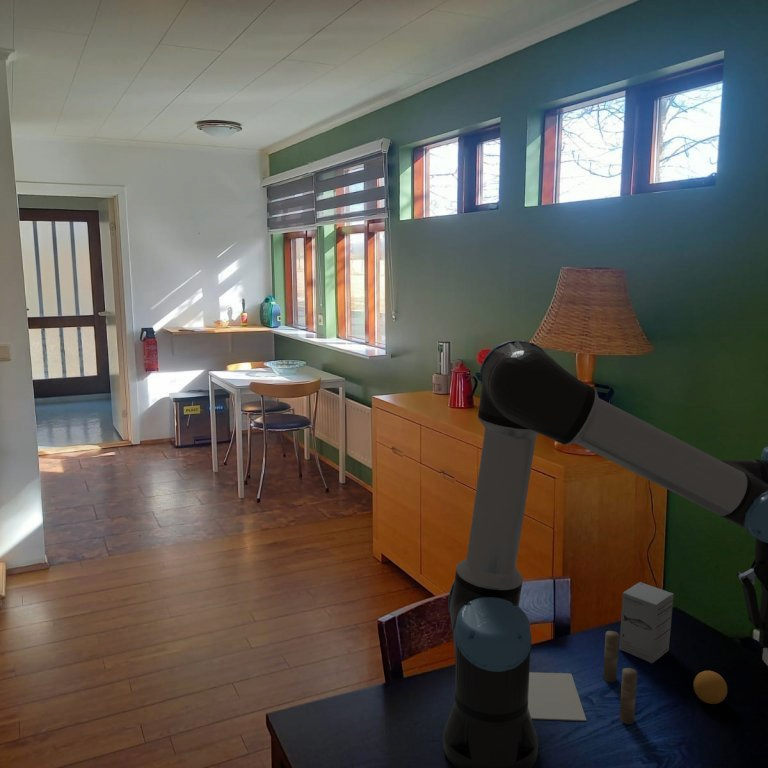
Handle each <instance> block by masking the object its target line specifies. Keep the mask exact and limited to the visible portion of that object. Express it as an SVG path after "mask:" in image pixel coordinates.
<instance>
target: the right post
mask: <svg viewBox="0 0 768 768" xmlns="http://www.w3.org/2000/svg"><path fill="white" fill-rule="evenodd" d="M621 672H622V673H621V688H620V701H619V702H620V705H619V720H620V722H621V723H623V724H626V725H632V724H633V723H634V722H635V716H636V715H635V714H636V713H635V712H636V699H637V698H636V697H637V696H636V695H637V683H638V671H637V670H636V669H634V668H631V667H624V668H622V670H621Z"/></svg>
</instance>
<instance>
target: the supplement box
mask: <svg viewBox="0 0 768 768" xmlns="http://www.w3.org/2000/svg"><path fill="white" fill-rule="evenodd" d="M674 596H675V594H674V593H673V592H671V591H670V592H669V591H667V590H665V589H661V588H659V587H656V586H652V585H649V584H646V583H644V582H642V581H639V582H637V583H636V584H634V585H632V586H631V587H629V588H627V589H626V590H624V592H622V602H621V604H622V605H621V615H620V616H621V617H620V628H619V629H620V632H619V645H618V651H621V652H622V651H623V652H625V653H628V654H630V655H632V656H635V657H636V658H639V659H641V660H644V661H646V662H648V663H649V664H654V663H655V662H657V660H659V659H660V658H661V657H663V656H664V655H665V654H666V653H667V652H669V649H670V638H671V627H672V617H673V616H672V615H673V605H674V604H673V603H674Z"/></svg>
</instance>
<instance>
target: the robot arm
mask: <svg viewBox="0 0 768 768" xmlns="http://www.w3.org/2000/svg"><path fill="white" fill-rule="evenodd" d="M479 378H480V383H481V390H480V398H479V403H478V404H479V406H478V412H477V419H478V420H479V421H480V423H481V424H482V425H483V427H484V435H483V440H482V441H483V442H482V447H481V448H482V449H481V454H480V463H479V471H478V475H477V483H476V491H475V497H474V504H473V510H472V512H473V513H472V518H471V525H470V532H469V540H468V546H467V555H466V558H464V559H463V560H460V562H458V563H457V565H456V568H455V569H456V570H455V575H454V580H453V583H452V585H451V587H450V590H449V592H448V593H449V594H448V598H447V599H448V601H447V604H448V606H447V607H448V613H449V615H450V623H451V630H452V638H453V648H454V662H455V663H454V666H455V669H454V670H455V671H454V673H455V674H454V700H453V705H452V708H451V710H450V713H449V715H448V717H447V720H446V722H445V725H444V728H443V737H442V739H443V740H442V742H443V744H442V745H443V746H442V748H443V751H444V755H445V756H446V757H447V759H448V760H449V762H450V763H451V764H452V765H453V766H454V767H455V768H533V767H534V766H535V764H536V761H537V759H538V750H539V749H538V747H539V740H538V735H537V732H536V728H535V725H534V722H533V719H531V715H530V712H529V709H528V692H529V672H530V666H531V665H530V664H531V663H530V662H531V661H530V660H531V659H530V658H531V648H532V641H533V640H532V639H533V638H532V630H531V624H530V620H529V618H528V616H527V614H526V612H525V611H524V610H523V609H522V608H521V607H520V601H521V593H522V586H523V580H524V579H523V578H524V577H523V575H522V573H521V572H520V571H519V570H518V568H517V562H518V555H519V547H520V542H521V535H522V529H523V523H524V516H525V511H526V504H527V498H528V491H529V484H530V478H531V474H532V473H531V472H532V467H533V461H534V460H533V459H534V455H535V454H534V453H535V447H536V441H537V440H536V439H537V436H538V435H543V436H545V437H547V438H549V439H551V440H553V441H556V442H557V443H559V444H562V445H563V446H569V445H573V444H576V445H578V446H581V447H582V448H584V449H586V450H589V451H590V452H592V453H594V454H596V455H599V456H600V457H602V458H604V459H606V460H607V461H611V462H612V463H614V464H616V465H618V466H621V468H624V469H625V470H628V471H630V472H632V473H634V474H636V475H638V476H640V477H642V478H644V479H645V480H648V481H650V482H652V483H654V484H656V485H658V486H660V487H662V488H664V489H666V490H668V491H670V492H672V493H674V494H676V495H678V496H680V497H682V498H684V499H686V500H688V501H689V502H691V503H693V504H694V505H697V506H700V507H702V508H704V509H706V510H708V511H710V512H712V513H714V514H716V515H717V516H720V517H721V518H723V519H725V520H727V521H728V522H730V523H732V524H734V525H736V526H739V527H740V528H741V529H744V530H745V531H746V532H747V533H748V534H749V535H750V536H752V538H753V537H754V538H755V542H754V543H755V544H754V560H753V562H752V563H751V565H750V569H748V570H746V571H744V572H743V571H738V572H737V573H736V577H737V578H738V580H739V582H740V583H741V584H742V591H743V597H744V601H745V607H746V611H747V612H746V613H747V615H748V618H747V619H748V621H749V622H750V624H751V625H753V627H754V628H755V629H757V630H759V636H758V644H760V646H761V647H762V658H761V659H762V660H763V662H764V663H765V664H766V666H767V667H768V446H765V447H764V448H763V449H762V453H761V455H760V459H736V460H735V459H719V458H716V457H714V456H712V455H710V454H709V453H707V452H704V451H702V450H701V449H698V448H697V447H695V446H693V445H691V444H689V443H687V442H685V441H683V440H681V439H679V438H677V437H676V436H674V435H672V434H670V433H668V432H665V431H663V430H662V429H660V428H658V427H656V426H654V425H652V424H651V423H648V422H647V421H644V420H643V419H641V418H638V417H637V416H635V415H633V414H631V413H629V412H626V411H625V410H623V409H621V408H620V407H617V406H615V405H613V404H611V403H609V402H607V401H606V400H603V399H602V398H600V397H599V395H598V391H597V389H596V388H595V387H593V386H591V385H589V384H587V383H586V382H585V381H582V380H580V379H579V378H577V377H576V376H574V375H573V374H572V373H571V372H569V371H567V370H566V369H565V367H563V366H561V365H560V364H559V363H558V362H557V361H556V360H555V359H554V358H553V357H551V356H550V355H548V354H547V352H545V350H544V349H543V348H541V347H540V346H539V345H537V344H536V343H533V342H528V341H524V340H516V339H512V340H508V341H507V340H506V341H504V342H502V343H499V344H498V345H495V347H493V348H492V349H490V350H489V352H488V353H487V354H486V356H485V357H484V359H483V362H482V364H481V367H480V372H479ZM755 577H756V579H758V581H759V583H760V589H761V595H760V607H759V603H758V598H757V593H756V587H755V586H754V585H755V583H756V579H755Z"/></svg>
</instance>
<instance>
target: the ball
mask: <svg viewBox="0 0 768 768" xmlns="http://www.w3.org/2000/svg"><path fill="white" fill-rule="evenodd" d="M693 689H694V692H695V695H696V696H697V697H698V699H699V700H701V701H702V702H704V703H705V704H709V705H717V704H720V703H721V702H723V701H724V700H725V698H726V697H727V694H728V685H727V682H726V681H725V679H724V678H723V677H722V676H721V675H720V674H719V673H717V672H715V671H713V670H703V671H701V672H699V673H698V674H696V675H695V678H694V680H693Z"/></svg>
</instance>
